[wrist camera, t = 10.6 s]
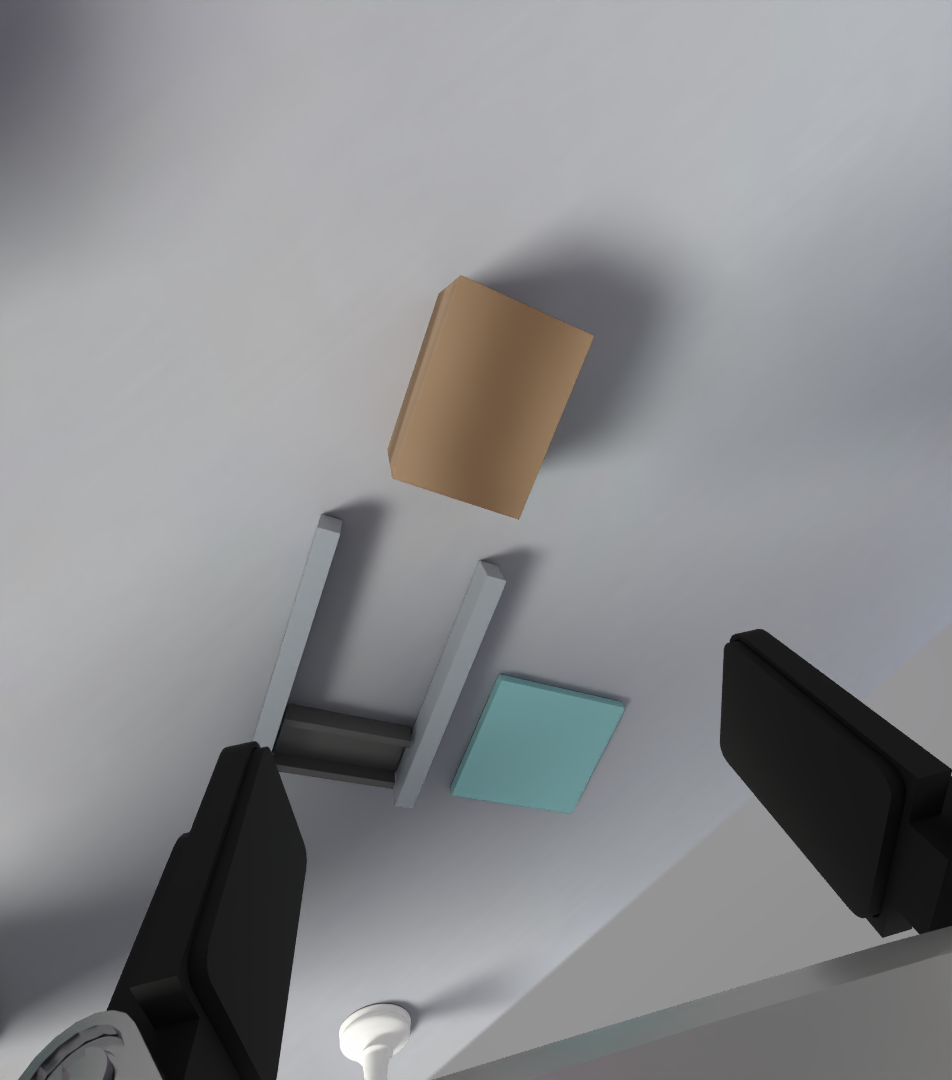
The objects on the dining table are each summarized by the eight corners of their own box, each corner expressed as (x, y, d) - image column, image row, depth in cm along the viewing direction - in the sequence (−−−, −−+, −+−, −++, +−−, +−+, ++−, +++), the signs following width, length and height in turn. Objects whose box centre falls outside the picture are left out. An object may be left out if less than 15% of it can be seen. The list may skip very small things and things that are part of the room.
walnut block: (387, 449, 24) (392, 478, 19) (438, 294, 23) (461, 275, 17) (486, 483, 26) (518, 519, 20) (542, 339, 24) (594, 336, 18)
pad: (450, 787, 31) (451, 795, 31) (499, 673, 29) (501, 680, 29) (567, 806, 34) (571, 813, 33) (620, 701, 32) (625, 708, 31)
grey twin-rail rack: (247, 755, 28) (239, 784, 26) (321, 514, 25) (317, 527, 23) (410, 781, 31) (412, 809, 29) (497, 565, 27) (506, 580, 25)
